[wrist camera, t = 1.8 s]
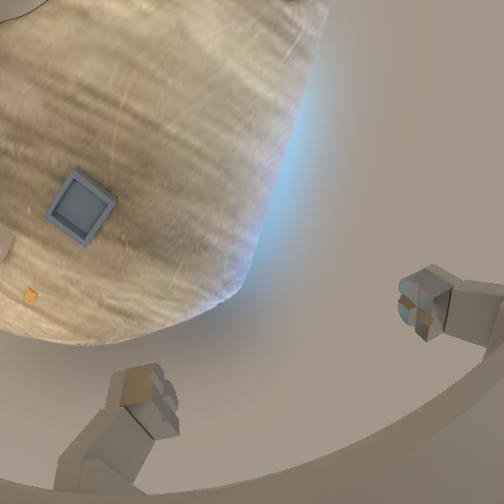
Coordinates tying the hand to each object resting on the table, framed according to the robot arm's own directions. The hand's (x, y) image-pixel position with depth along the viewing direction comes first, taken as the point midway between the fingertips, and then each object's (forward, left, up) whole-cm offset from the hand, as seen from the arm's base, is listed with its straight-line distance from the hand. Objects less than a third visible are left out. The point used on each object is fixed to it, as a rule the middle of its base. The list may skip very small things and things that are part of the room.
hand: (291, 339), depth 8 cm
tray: (-7, -12, -35) cm, 38 cm away
